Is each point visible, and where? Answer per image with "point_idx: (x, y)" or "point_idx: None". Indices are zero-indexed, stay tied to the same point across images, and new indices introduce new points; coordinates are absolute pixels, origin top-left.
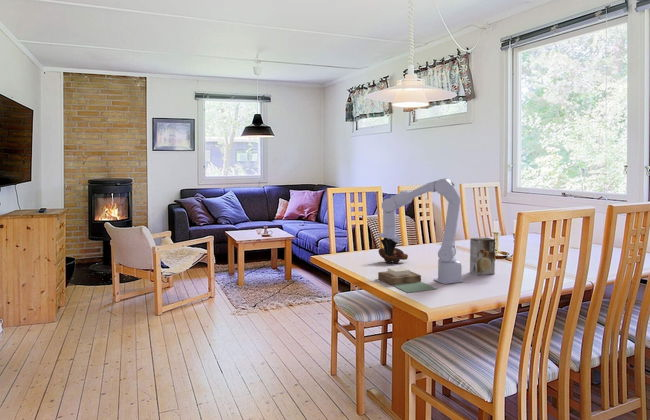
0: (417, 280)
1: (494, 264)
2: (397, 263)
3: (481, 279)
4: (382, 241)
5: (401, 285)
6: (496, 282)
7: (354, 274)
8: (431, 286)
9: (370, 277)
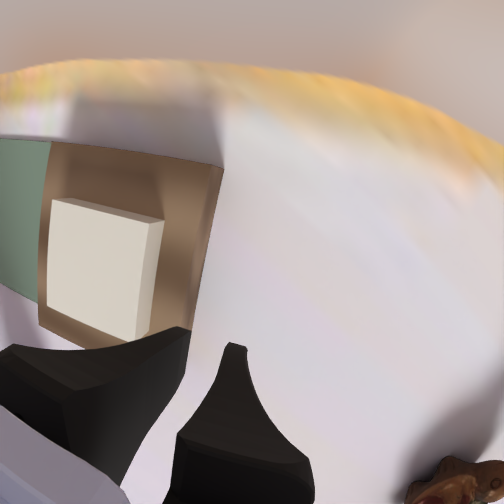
0: None
1: None
2: (410, 485)
3: None
4: (217, 439)
5: None
6: None
7: (423, 128)
8: (2, 280)
9: (293, 154)
